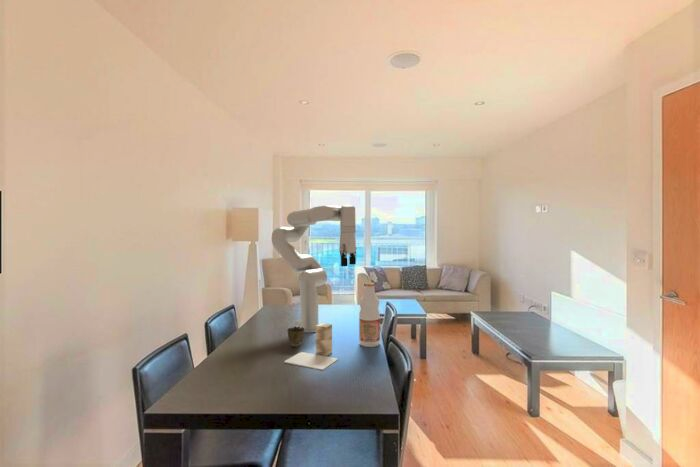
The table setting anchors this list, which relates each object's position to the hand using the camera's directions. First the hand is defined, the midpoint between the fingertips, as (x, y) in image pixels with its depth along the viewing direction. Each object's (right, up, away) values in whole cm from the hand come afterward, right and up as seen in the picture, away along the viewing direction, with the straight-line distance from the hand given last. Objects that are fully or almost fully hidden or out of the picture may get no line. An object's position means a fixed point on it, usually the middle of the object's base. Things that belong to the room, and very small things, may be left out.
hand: (348, 265), depth 168 cm
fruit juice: (+10, -35, -11) cm, 38 cm away
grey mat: (-15, -35, -31) cm, 50 cm away
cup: (-24, -36, -14) cm, 45 cm away
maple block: (-10, -35, -23) cm, 43 cm away
